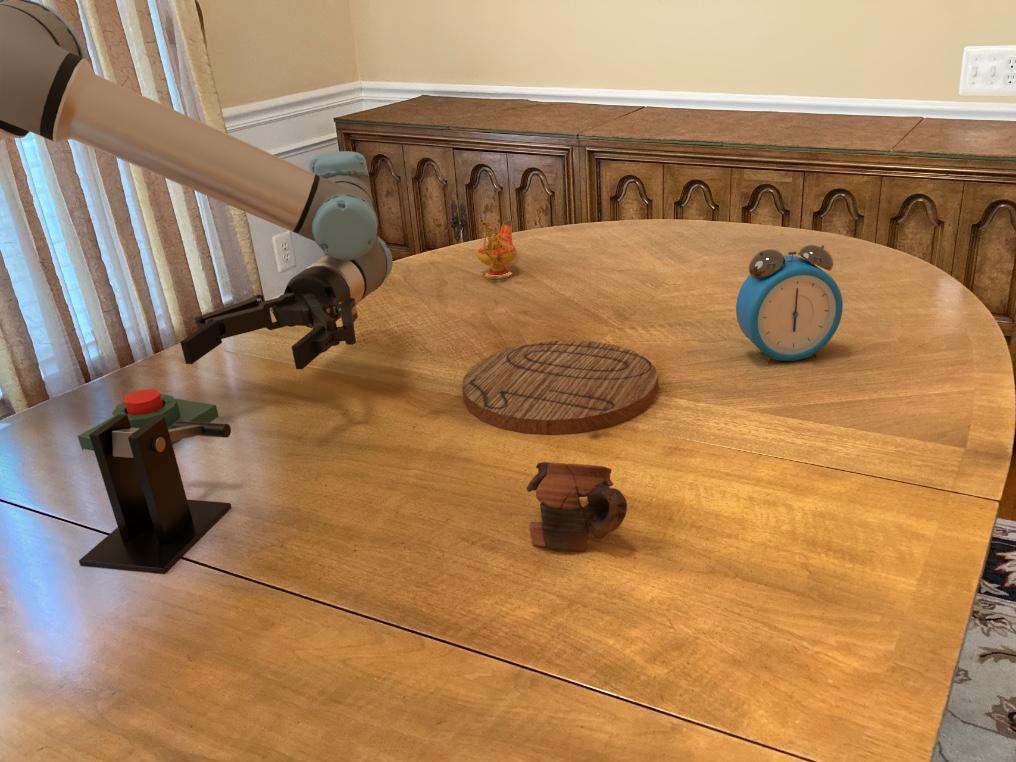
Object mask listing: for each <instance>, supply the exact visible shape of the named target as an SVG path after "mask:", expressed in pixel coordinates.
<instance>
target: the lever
mask: <svg viewBox="0 0 1016 762" xmlns="http://www.w3.org/2000/svg"><path fill="white" fill-rule="evenodd" d="M138 429H140V428H127V429H122V430H116V431H112V448H113V456H114V457H127V458H134V457H133V454H132V450H131V447H130V443H129V440H128V437H129V436H130V435H132V434H133V433H134V432H136V431H137V430H138ZM168 431H169V434H170V438H171V441H175V440H180V439H182V440H184V439H189V438H194V437H210V438H225V439H227V438H229V437H230V435H231V433H232V427H231V425H230V424H229V423H221V422H219V423H217V422H209V423H205V422H189V421H174V422H173V424H172V429H168ZM180 441H181V440H180Z"/></svg>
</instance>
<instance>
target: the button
mask: <svg viewBox="0 0 1016 762" xmlns="http://www.w3.org/2000/svg"><path fill="white" fill-rule="evenodd" d="M161 394H162V393H161V392H160V390H158V389H153V388H147V389H140V390H136V391H132V392H131V393H127V395H126V396H125V397H123V403H124V402H125V406H126V409H127V412H128V414H130V415H143V414H148V413H152V412H155V411H157V410H159V409H161V408H163V407H164V405H163V401H162V398H161Z"/></svg>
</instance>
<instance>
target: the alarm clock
mask: <svg viewBox="0 0 1016 762" xmlns="http://www.w3.org/2000/svg"><path fill="white" fill-rule="evenodd" d="M787 254H788V255H784V254H783V253H782V252H781V251H780V250H778V249H775V248H767V249H763V250H760V251H758V252H757V253H756V254H755V255H753V257H752V258H751V260H750V261H749V264H748V272H749V274H748V275H747V277H746V278H745V280H744V281H743V283H742V285H741V286H740V289H739V291H738V294H737V298H736V303H735V315H736V320H737V323H738V327H739V328H740V330H741V332H742V333H743V334H744V336H745V337H746V338H747V339H748V340H749V341H750V342H751V343H752V344H753V345H754V346H755V347H756V348H757V349H758V350H759V351H760V352H761V353H763V355H765V356H767V357H768V359H767V361H766V364H768V365H769V364H771V362H772V361H773V360H776V361H780V362H795V361H800V360H804V359H807V358H809V357H811V356H813V358H815V359H816V358H817V353H818V352H819V351H820V350H822V349H823V348H824V347H825V346H826V345H827V344H828V343H829V342H830V341H831V339H832V338H833V337H834V335H835V334H836V332H837V330H838V328H839V327H840V323H841V320H842V316H843V309H844V308H843V307H844V305H843V296H842V292H841V290H840V287H839V286H838V284H837V282H836V281H835V280H834V278H833V277H832V276H831V275H830V274H828V273H827V272H826V271H829V272H831V271H832V269H833V267H834V258H833V255H832V254H831V253H830V252H829V251H828V250H827V249H826V248H825V245H824V244H821V245H818V244H806V245H805V246H803V247H801V248H800V249H799V250H798V252H797V251H796V250H795V251H788V252H787ZM797 255H798V256H797ZM823 269H824V270H826V271H824V270H823Z"/></svg>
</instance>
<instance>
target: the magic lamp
mask: <svg viewBox="0 0 1016 762" xmlns="http://www.w3.org/2000/svg"><path fill="white" fill-rule="evenodd" d="M513 222H514V221H513V220H505V221H503V222H502V225H501V227H500V229H499V231H498V233H497V235H496V233H492V228H491V226H490V223H489V222H488V221H484V220H482V221H481V223H480V226H481V228H483V230H484V234H483V246H482V247H480V248H479V249H477V251H476V257H477V259H478V261H480V262H481V263H482V264H483V265H486V266H489V269H488V270H487V271H488V272H487V271H486V272H487V273H488V274H489V275H503V274H506V273H508V272H509V270H510V269H508V268H506V267H505V265H508V264H510V263H512V262H513V261H514V259H516V256H517V248H516V247H515V246H514V244H513ZM486 240H488V242H487V241H486ZM486 242H487V243H488V244H486ZM486 272H484V273H483V277H484V278H487V279H490V280H491V279H492V280H502V279H507V278H510V277H512V276H514V272H513V271H512V274H511V275H510V276H507V277H502V278H490V277H486V276H485V275H484V274H485V273H486Z"/></svg>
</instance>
